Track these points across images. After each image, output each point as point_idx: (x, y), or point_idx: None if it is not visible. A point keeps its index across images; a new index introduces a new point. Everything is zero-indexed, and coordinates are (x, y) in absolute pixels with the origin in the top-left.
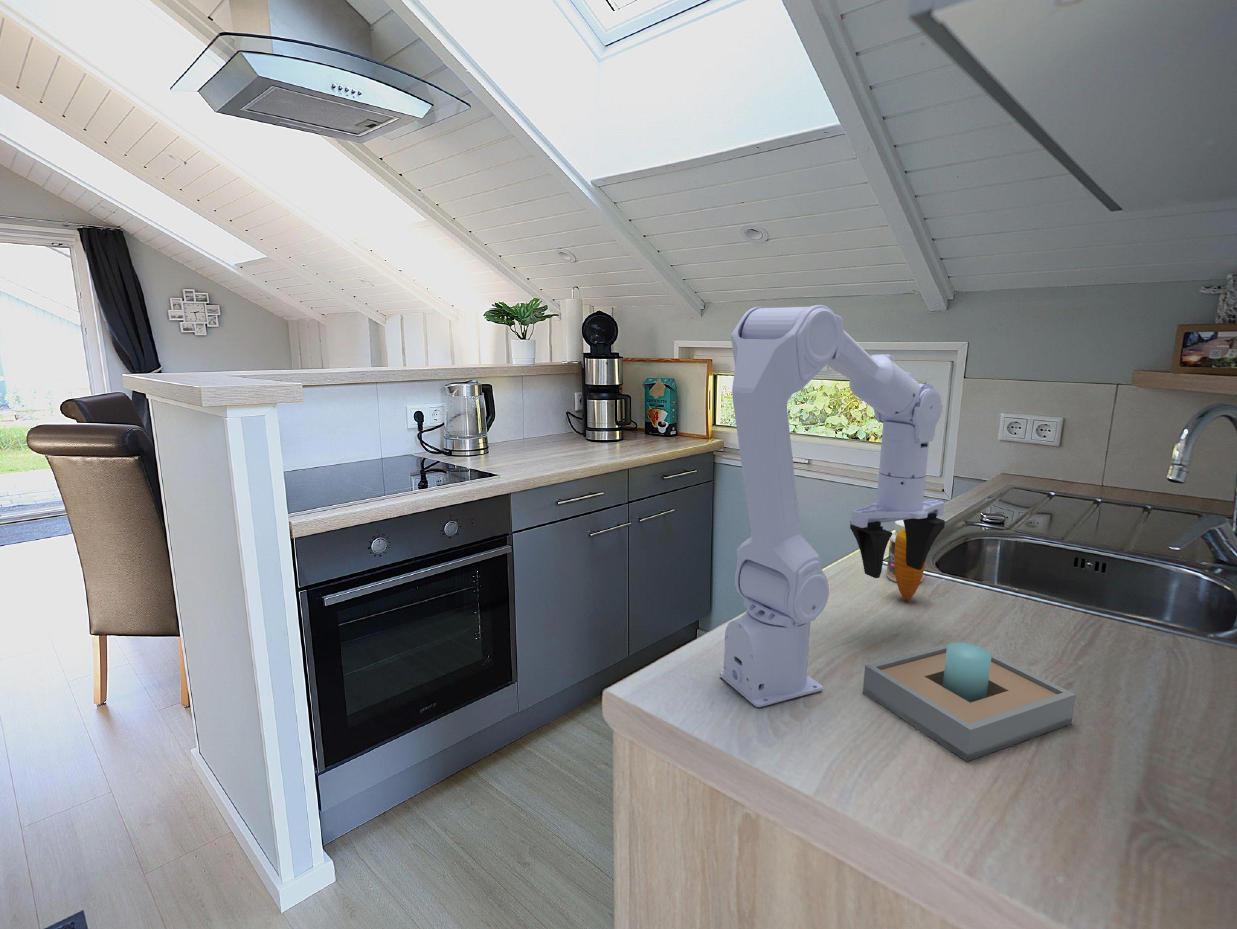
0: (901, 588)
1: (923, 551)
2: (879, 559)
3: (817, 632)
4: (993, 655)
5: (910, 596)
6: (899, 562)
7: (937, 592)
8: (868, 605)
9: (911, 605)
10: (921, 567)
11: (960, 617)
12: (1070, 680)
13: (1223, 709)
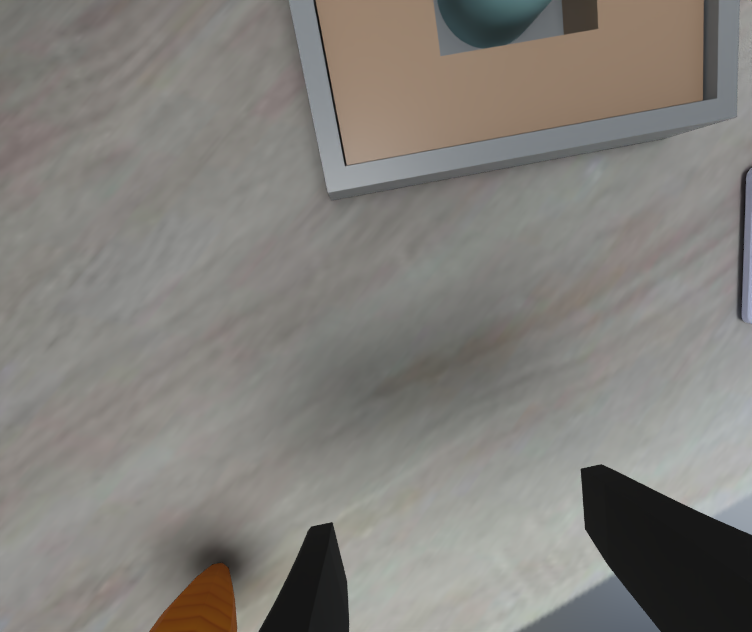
0: (233, 596)
1: (314, 610)
2: (703, 519)
3: (566, 439)
4: (305, 61)
5: (213, 568)
6: None
7: (92, 600)
8: (343, 554)
9: (225, 538)
10: (315, 531)
11: (131, 451)
12: (67, 40)
13: None
